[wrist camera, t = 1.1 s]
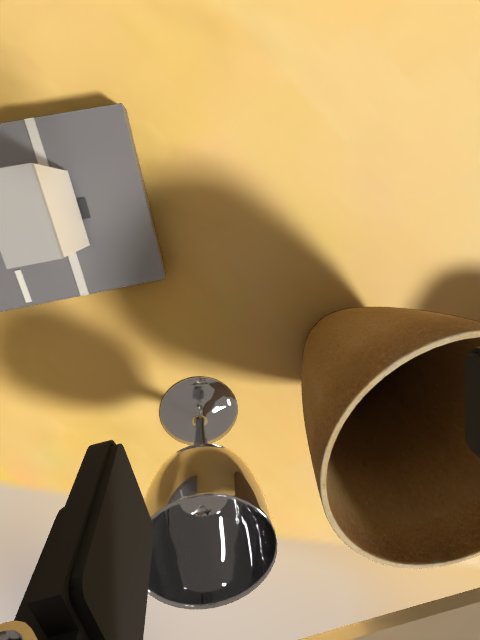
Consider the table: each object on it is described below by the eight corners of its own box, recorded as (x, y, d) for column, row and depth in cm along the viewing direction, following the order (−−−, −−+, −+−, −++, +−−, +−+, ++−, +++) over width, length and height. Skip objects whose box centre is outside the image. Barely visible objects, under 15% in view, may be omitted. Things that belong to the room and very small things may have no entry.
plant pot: (231, 330, 33) (267, 440, 18) (380, 235, 32) (548, 268, 17) (311, 447, 38) (392, 612, 23) (442, 368, 37) (617, 485, 22)
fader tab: (22, 179, 26) (-29, 173, 20) (67, 170, 26) (30, 162, 20) (47, 253, 27) (7, 269, 21) (89, 245, 27) (62, 258, 21)
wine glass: (238, 366, 34) (273, 485, 20) (245, 442, 37) (281, 595, 23) (148, 379, 34) (118, 511, 19) (162, 455, 36) (145, 621, 22)
